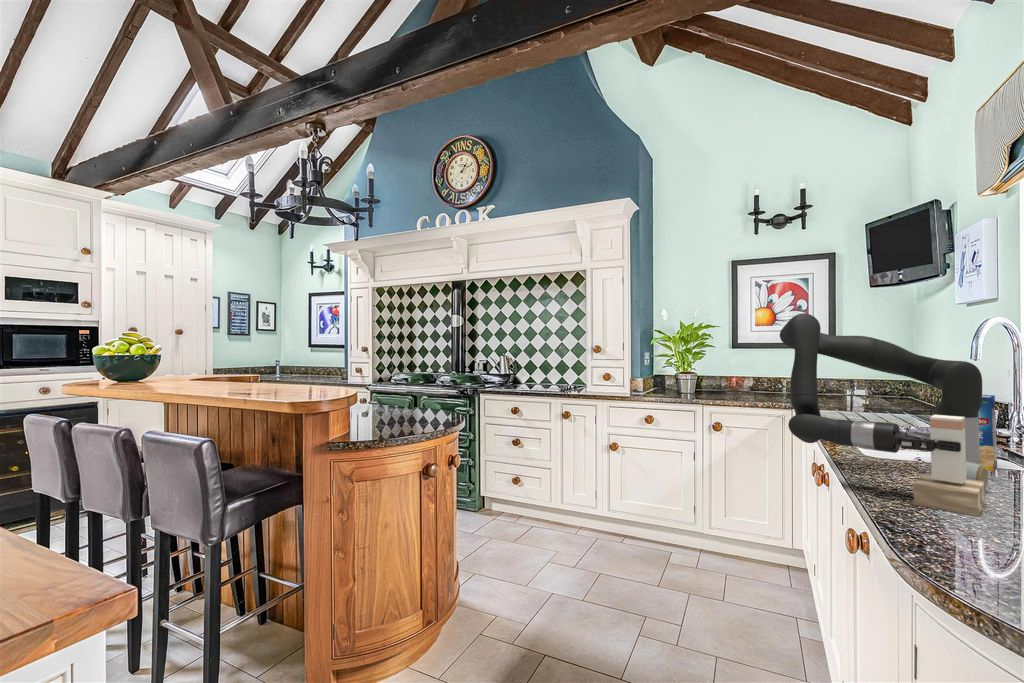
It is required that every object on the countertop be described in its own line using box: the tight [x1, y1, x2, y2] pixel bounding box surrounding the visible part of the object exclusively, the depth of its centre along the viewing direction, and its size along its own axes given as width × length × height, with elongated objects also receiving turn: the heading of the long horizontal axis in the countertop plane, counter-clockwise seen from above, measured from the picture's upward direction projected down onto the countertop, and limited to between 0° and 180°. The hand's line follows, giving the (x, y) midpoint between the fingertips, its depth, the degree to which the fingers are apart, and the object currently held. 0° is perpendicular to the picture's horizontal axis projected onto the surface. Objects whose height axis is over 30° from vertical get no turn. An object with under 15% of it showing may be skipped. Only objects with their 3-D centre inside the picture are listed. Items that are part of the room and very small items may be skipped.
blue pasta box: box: [978, 394, 998, 472], centre depth 148 cm, size 7×11×22 cm, turn 39°
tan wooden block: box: [912, 472, 987, 517], centre depth 114 cm, size 14×11×5 cm
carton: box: [929, 414, 966, 484], centre depth 115 cm, size 6×6×15 cm
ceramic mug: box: [966, 462, 989, 490], centre depth 126 cm, size 11×8×8 cm
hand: (962, 445), depth 113 cm, fingers closed on carton, 5 cm apart
